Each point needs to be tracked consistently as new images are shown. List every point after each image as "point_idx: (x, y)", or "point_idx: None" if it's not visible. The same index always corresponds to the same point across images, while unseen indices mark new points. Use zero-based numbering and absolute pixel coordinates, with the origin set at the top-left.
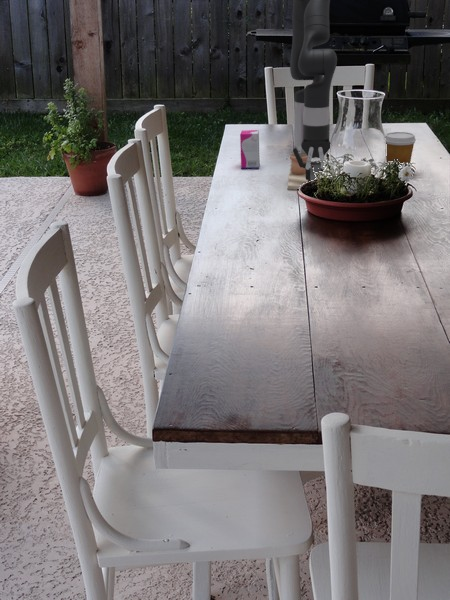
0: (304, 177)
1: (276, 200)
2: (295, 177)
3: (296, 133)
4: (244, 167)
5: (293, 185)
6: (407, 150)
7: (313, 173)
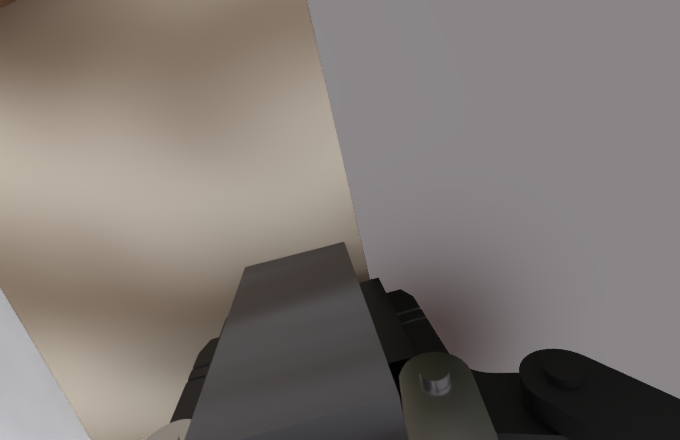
0: (122, 131)
1: None
2: (16, 157)
3: None
4: None
5: (139, 421)
6: None
7: None
